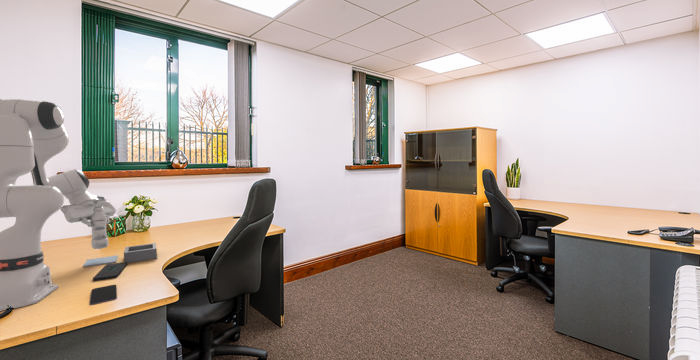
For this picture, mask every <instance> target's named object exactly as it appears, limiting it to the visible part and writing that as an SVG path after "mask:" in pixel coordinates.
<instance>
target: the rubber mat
mask: <svg viewBox="0 0 700 360" xmlns="http://www.w3.org/2000/svg"><path fill="white" fill-rule="evenodd" d="M118 258H119V255H111V256H103V257H96V258H89V259H86V261H85V262H84V264H83V265H82V268H89V267H94V266H100V265H101V266H102V265H107V264H113V263H117V260H118Z"/></svg>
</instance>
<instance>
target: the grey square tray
mask: <svg viewBox="0 0 700 360" xmlns="http://www.w3.org/2000/svg"><path fill="white" fill-rule="evenodd" d="M157 249H158V248H157V243H156V242H154V243H147V244H138V245H131V246H125V247H124V250H123V262H127V264H131V263H135V262H143V261H149V260H155V259H158V254H157V253H158V251H157Z"/></svg>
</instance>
